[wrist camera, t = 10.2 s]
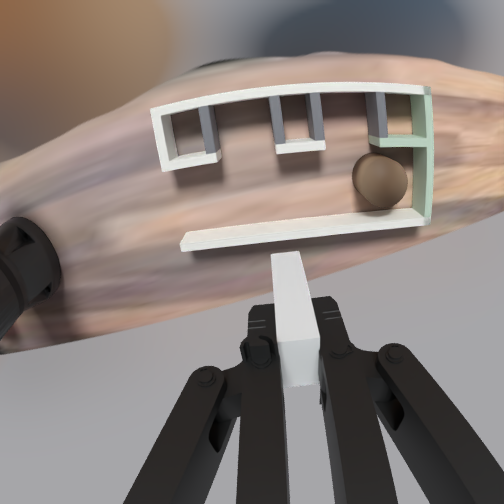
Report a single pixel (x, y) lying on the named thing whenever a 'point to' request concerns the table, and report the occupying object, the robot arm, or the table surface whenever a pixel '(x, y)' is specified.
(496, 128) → the table surface
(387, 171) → the brown rounded cylinder
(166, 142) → the box
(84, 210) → the table surface
